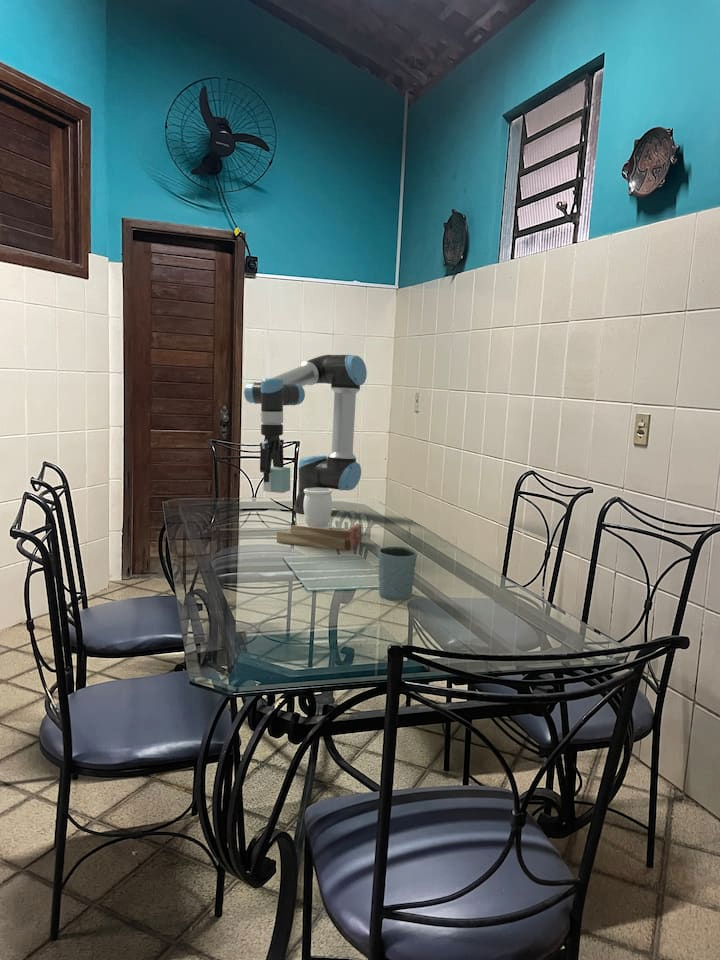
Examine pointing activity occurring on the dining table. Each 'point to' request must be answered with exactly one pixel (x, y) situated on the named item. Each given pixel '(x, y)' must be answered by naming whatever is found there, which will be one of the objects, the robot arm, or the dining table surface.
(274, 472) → the block
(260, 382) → the robot arm
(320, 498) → the jar
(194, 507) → the dining table surface
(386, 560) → the blue-grey cup
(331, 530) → the trough
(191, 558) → the dining table surface
